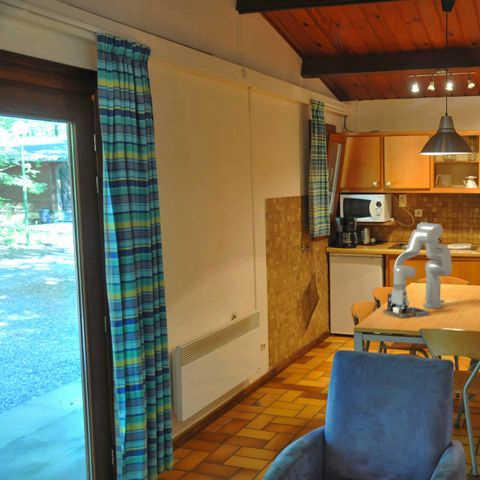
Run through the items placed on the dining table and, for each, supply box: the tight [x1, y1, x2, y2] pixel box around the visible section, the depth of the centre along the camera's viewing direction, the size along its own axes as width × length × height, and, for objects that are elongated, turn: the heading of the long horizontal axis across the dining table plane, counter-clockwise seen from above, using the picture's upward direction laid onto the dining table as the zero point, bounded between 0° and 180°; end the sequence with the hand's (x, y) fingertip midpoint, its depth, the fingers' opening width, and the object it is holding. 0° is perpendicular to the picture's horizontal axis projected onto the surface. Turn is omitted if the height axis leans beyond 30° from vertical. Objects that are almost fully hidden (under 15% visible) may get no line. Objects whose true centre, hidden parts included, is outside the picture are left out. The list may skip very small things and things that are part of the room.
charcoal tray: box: [406, 306, 430, 318], centre depth 453 cm, size 11×15×3 cm
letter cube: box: [393, 307, 403, 314], centre depth 449 cm, size 5×5×5 cm
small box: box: [386, 293, 402, 310], centre depth 466 cm, size 11×6×10 cm, turn 101°
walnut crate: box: [382, 308, 414, 320], centre depth 449 cm, size 11×16×3 cm
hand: (398, 313), depth 449 cm, fingers open, 9 cm apart
